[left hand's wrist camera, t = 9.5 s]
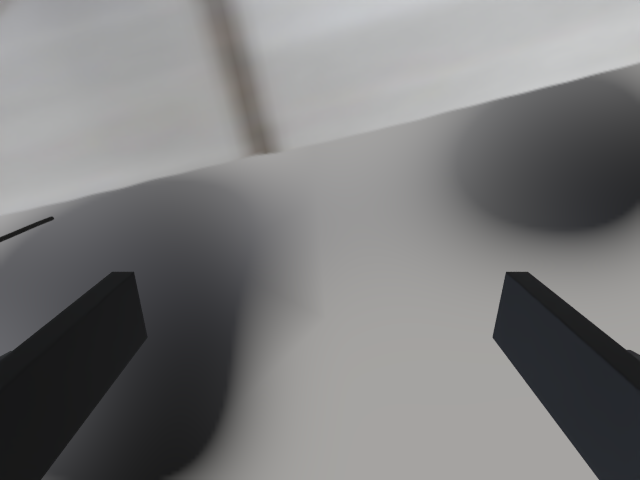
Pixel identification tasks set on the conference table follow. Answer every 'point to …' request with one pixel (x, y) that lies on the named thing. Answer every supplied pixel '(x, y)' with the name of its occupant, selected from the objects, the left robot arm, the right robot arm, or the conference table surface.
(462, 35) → the conference table surface
